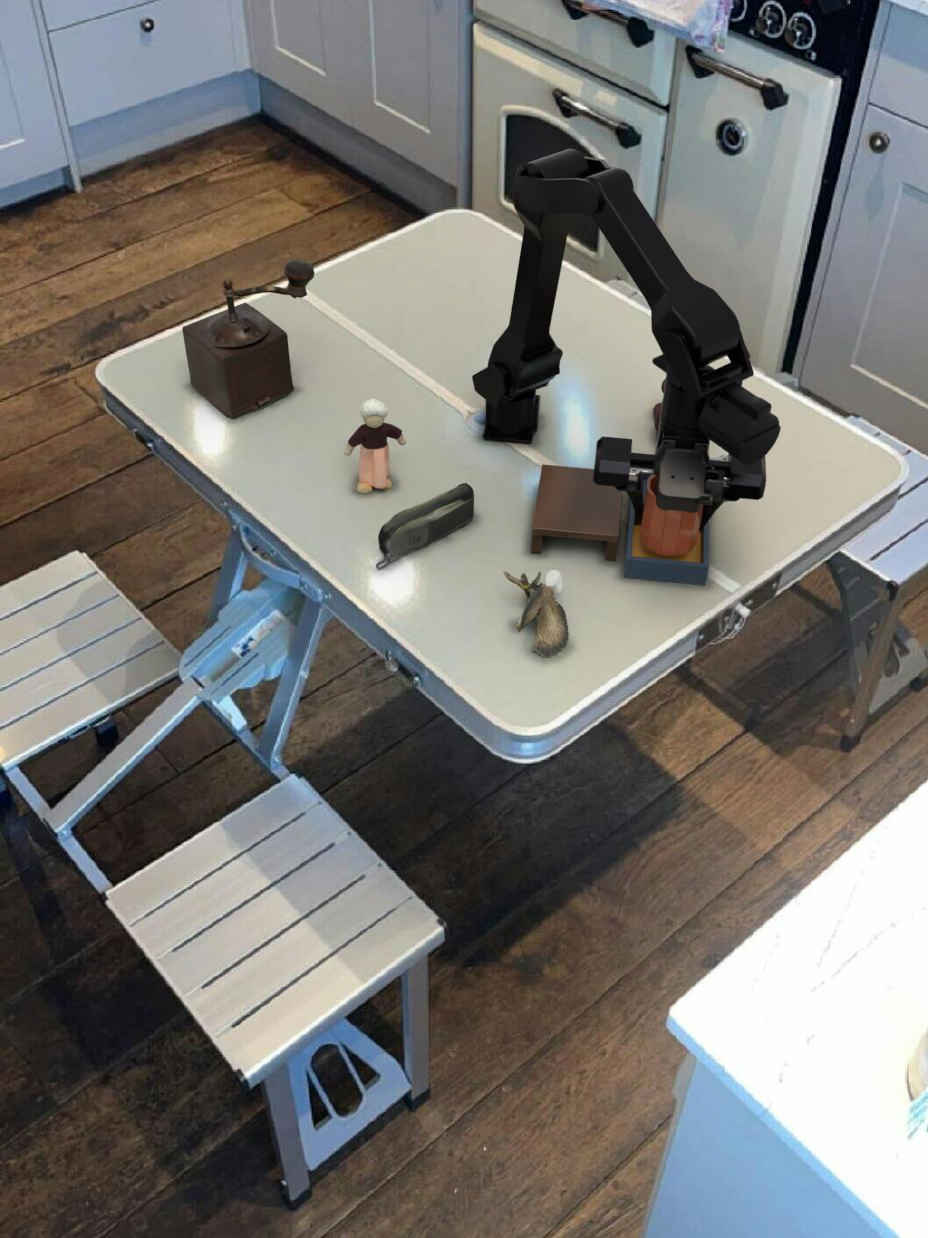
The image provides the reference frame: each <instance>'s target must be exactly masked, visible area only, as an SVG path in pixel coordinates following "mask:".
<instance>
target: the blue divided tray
mask: <svg viewBox="0 0 928 1238" xmlns="http://www.w3.org/2000/svg"><path fill="white" fill-rule="evenodd" d="M651 475H652V474H644V473H643V505H644V498H645V491H646V484H647V479H648V478H649V477H650V476H651ZM628 503H629V504H628V515H627V527H626V541H625V542H626V543H625V553H624V554H625V555H624V567H623V569H624V570H623V578H625V579H636V580H644V581H645V580H646V581H656V582H665V583H666V582H667V583H674V584H684V585H685V584H686V585H695V586H706V585H707V579H708V574H709V569H710V520H709V521H708V522H707V524H706V525H705V526H704V528H703V529H702V530H699V533H698V539H697V544H696V545H695V546H694V547H693V548H692V549H691V550H690V551H689V552H688V553H684V554H681V555H677V556H669V555H660V554H658V553H655V552H653V551H651V550H649V549H647V548H646V547H645V545H644V544H643V543H642V541H641V540H640V526H641V524H638V521H637V518H636V515H635V511H634V508H633V505H632V502H631V499H630V498H629V500H628Z"/></svg>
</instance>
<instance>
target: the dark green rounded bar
mask: <svg viewBox="0 0 928 1238" xmlns="http://www.w3.org/2000/svg"><path fill="white" fill-rule="evenodd" d="M474 515H475V491H474V489H473V487H472V485H470V484H469V483H466V482H463V483H460V484H458V485H457V486H455V487H453V488H451V489H449V490H447V491H445V492H443V493H440V494H437V496H434V497H432V498H431V499H428V500H427V501H425V502H422V503H419V504H417V505H416V504H415V505H413V506H412V507H409V508H405V509H403V510H401V511H399V512H397V513H396V514H394V515H393V516H392V517H391V518H390V519H389V520H388V521H387V522H385V523H384V524H383V525H382V526H381V528H380V529H379V532H378V536H377V539H378V547H379V548H378V549H379V550H380V552H381V553H382V554H383V559H382V560H381V561H379V562H378V563H376V565H375V567H376V568H377V569H378V570H380V569H381V568H383V567H385V566H387V565H389V564H390V563H392V562H393V561H395V560H397V559H399V558H401V557H403V556H405V555H407V554H409V553H411V552H413V551H416V550H417V549H420V548H422V547H424V546H426V545H428V544H429V543H431V542H433V541H435V540H438V539H440V538H442V537H444V536H447V535H448V534H450V533H452V532H454V531H456V530H458V529H461V528H462V527H464V526H466V525H467V524H468V523H470V522H471V521H472V520H473V518H474Z"/></svg>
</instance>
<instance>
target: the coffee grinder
mask: <svg viewBox="0 0 928 1238" xmlns="http://www.w3.org/2000/svg"><path fill="white" fill-rule="evenodd" d="M283 274H284V275H285V277H286V279H287V281H288V284H287V286H286V287H281V286H276V285H260V286H252V287H245V288H239V289H234V288H233V285H234V283H233V282H232V280H231V279H229V278H226V279H223V281H222V286H223V291H222V294H223V296H224V297H225V300H226V305H227V309H224V310H222V311H219V312H217V313H214V314H212V315H208V316H207V317H204V318H201V319H199V320H196V321H193V322H192V323H189V324H187V325H184V326H182V328H181V329H182V331H181V332H182V337H183V342H184V349H185V355H186V361H187V368H188V372H189V379H190V385H191V386H192V388H193V389H194V390H195V391H196V392H197V393H198V394H199V395H200V396H201V397H202V398H204V399H205V401H207V402H208V403H210V404H211V405H212V406H213V407H214V408H215V409H217V410H218V411H219V412H220V413H221V414H222V415H223V416H225V417H226V418H229V419H231V420H234V419H236V418H239V417H242V416H245V415H248V414H249V413H252V412H254V411H256V410H257V411H258V410H259V409H262V408H265V407H266V406H268V405H271V404H272V403H274V402H276V401H278V400H279V399H281V398H284V397H285V396H287V395H289V394H291V392H293V391H295V387H294V384H293V376H292V368H291V357H290V349H289V339H288V333H287V331H285V330H284V329H283V328H281V327H280V326H278V324H276V323H275V321H272V319H270V318H269V317H267V316H266V315H264V313H262V312H261V311H260V310H258V309H256V308H254V307H253V306H252V305H250V304H248V303H247V302H246V301H245V302H243V303H239V304H237V305H235V299H234V297H247V296H251V295H258V294H270V293H272V294H278V295H284V296H290V297H291V298H293V299H296V298H301V299H302V298H304V297H307V296H308V292H307V286H308V284H309V283H310V282H311V281H312V280H313V279H314V277H315V270H314V267H313V265H312V264H311V263H310V262H308V261H307V260H305V259H302V258H293V259H289V260H288V261H286V263H285V264H284V266H283Z"/></svg>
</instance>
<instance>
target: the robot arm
mask: <svg viewBox="0 0 928 1238" xmlns="http://www.w3.org/2000/svg"><path fill="white" fill-rule="evenodd" d="M513 189H514V190H513V192H514V193H513V208H514V210H515V212H516V214H517V216H518V218H519V219H520V221H521V223H522V224H523V225H522V226H523V232H522V233H523V234H522V240H521V246H520V251H519V252H520V253H519V258H518V265H517V271H516V277H515V283H514V284H515V285H514V289H513V297H512V303H511V310H510V316H509V321H508V325H507V327H506V328H505V330H504V331H503V332H502V333H501V334H500V336H499V337H498V338H497V340H496V341H495V342H494V344H493V346H492V349H491V352H490V355H489V358H488V362H487V366H486V367H485V368H483V369H481V370H480V371H478V372H476V373H475V374H473V375H472V376H471V379H472V384H473V389H474V392H475V393H476V394H478V395H479V396H480V397H481V398H483V399H484V400H485V407H484V408H485V410H484V411H485V412H484V426H483V431H482V439H483V440H486V441H495V442H506V443H517V444H527V445H528V444H529V445H530V444H532V443H533V441H534V433H537V432H538V430H539V429H538V428H539V422H540V413H541V412H540V411H541V410H540V409H541V395H540V394H537V390H540V389H541V388H546V387H548V386H549V384H550V381H552V380H554V378H556V376H558V375H560V374H561V367H560V366H561V360H562V359H563V355H564V352H563V350H562V349H561V348H560V347H558V345H557V343H556V342H555V340H554V337H552V335H551V331H550V329H551V325H552V319H553V314H554V309H555V303H556V297H557V292H558V287H559V283H560V282H559V281H560V276H561V272H562V268H563V267H562V265H563V262H564V261H563V260H564V255H565V250H566V245H567V239H568V236H569V233H570V232H571V230H573V228H574V227H575V226H576V224H577V223H578V222H579V220H580V219H581V218H582V216H591V218H592V219H593V222H594V223H595V224H596V226H597V227H598V229H599V231H600V232H601V233H602V234H603V236H604V238H605V240H606V242H608V244H609V246H610V247H611V249H612V250H613V252H614V254H615V255H616V257H617V258H618V259H619V261H620V263H621V264H622V266H623V267H624V269H625V270H626V272H627V273H628V275H629V277H630V278H631V279H632V281H633V282H634V284H635V285H636V287H637V289H638V290H639V291H640V293H641V294H642V296H643V298H644V299H645V301H646V304H647V305H648V307H649V309H650V319H651V321H650V323H651V324H650V325H651V333H652V335H653V337H654V339H655V341H656V343H657V345H658V347H659V349H660V351H661V354H660V355H657V356H655V357H653V358H652V360H651V361H652V364H653V365H654V366H655V367H657V368H658V369H660V370H661V371H663V372H664V373H665V374H666V375H665V378H666V381H665V388H664V394H662V395H663V396H662V401H661V402H662V408H661V415H660V422H659V429H658V436H657V435H656V443H655V449H654V451H655V452H654V454H653V453H642V452H633V451H632V449H633V438H626V437H625V438H624V437H613V436H601V437H600V438H599V439H597V440H596V447H595V457H594V466H593V469H594V475H593V482H594V483H596V484H597V485H603V486H614V487H615V488H616V490H618V491H622V492H624V493H627V495H628V498H629V499H631V502H632V505H633V508H634V511H635V515H636V518H637V521H638V524H641V523H642V517H643V473H644V474H653V475H658V481H657V494H656V505H657V507H658V508H659V509H661V510H666V511H669V510H676V511H685V512H687V513H695V512H697V511H698V510H699V509H700V507H701V504H702V505H704V506H703V512H702V517H701V522H700V528H699V530H702V529H703V528H704V526H705V525H706V524H707V522H708V521H709V522H710V519H711V518H712V517H713V516H714V515H715V513H716V512H717V510H718V509H719V508H720V507H721V506H722V505H723V504H724V503H727V502H734V503H735V502H738V501H739V500H741V499H744V500H754V501H755V500H756V501H759V500H761V499H762V498H764V495H765V490H766V487H767V486H766V485H767V466H766V465H767V463H766V462H767V461H766V455H768V453H769V452H770V451H771V450H772V448H773V447H774V446H775V444H776V442H777V440H778V438H779V435H780V432H781V428H782V427H781V425H780V420H779V417H777V415H776V414H774V413H772V407H773V405H772V404H771V403H770V402H769V401H767V400H765V398H762V397H761V396H758V395H756V394H754V393H753V392H751V391H749V390H748V389H747V388H745V387H743V382H744V380H747V379H749V378H752V377H753V376H754V375H755V373H754V372H755V371H754V369H753V366H752V363H751V362H752V361H751V359H750V358H752V357H751V354H750V352H749V350H748V348H747V345H746V343H745V339H744V336H743V333H742V329H741V324H740V322H739V319H738V317H737V315H736V313H735V312H734V311H733V309H732V308H731V307H730V306H729V305H728V304H727V303H726V302H725V300H724V299H723V298H722V297H721V296H720V294H719V293H718V292H717V291H716V290H715V289H714V288H712V287H710V286H709V285H706V284H705V283H702V282H701V281H698V280H696V279H695V278H693V276H692V275H691V274H690V273H689V272H688V270H687V269H686V267H685V266H684V265H683V263H682V261H681V259H680V258H679V256H678V255H677V254H676V252H675V251H674V249H673V248H672V246H671V244H670V243H669V242H668V240H667V238H666V237H665V235H664V234H663V233H662V230H660V228H659V226H658V225H657V224H656V222H655V220H654V219H653V217H652V215H651V214H650V213H649V211H648V209H646V207H645V205H644V203H643V202H642V201H641V199H640V198H639V196H638V195H637V193H636V191H635V187H634V182H633V178H632V177H631V175H630V174H629V172H627V170H626V169H623V168H620V167H613V166H610V164H609V163H608V162H607V160H606V159H602V158H596V157H589V156H584V155H583V154H582V153H581V152H580V151H579V150H577V149H575V148H567V149H565V150H562V151H558V152H555V153H552V154H550V155H546V156H544V157H541V158H538V159H534V160H531V161H529V162H526V163H524V164H522V165H521V166H518V168H517V170H516V173H515V176H514V188H513ZM725 357H727V358H728V360H729V361H730V362H729V363H726V364H724V365H722V366H719V367H717V368H714V367H713V366H711V365H710V364H713V363H715V362H717V361H719V360H721V359H723V358H725ZM711 442H712V443H713V444H715V445H717V447H719V448H720V449H722V450H723V451H725V452H726V453H728V454H727V455H725V454H724V455H723V454H722V455H719V456H718V457H716V458H715V457H710V454H709V453H710V452H709V451H710V445H711Z"/></svg>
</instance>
